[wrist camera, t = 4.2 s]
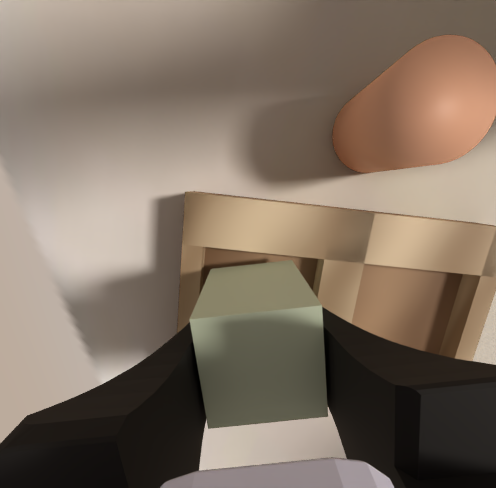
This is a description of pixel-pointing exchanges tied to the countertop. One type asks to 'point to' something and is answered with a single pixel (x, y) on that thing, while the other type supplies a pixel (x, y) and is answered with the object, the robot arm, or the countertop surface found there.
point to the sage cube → (259, 346)
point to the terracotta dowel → (420, 108)
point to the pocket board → (353, 265)
